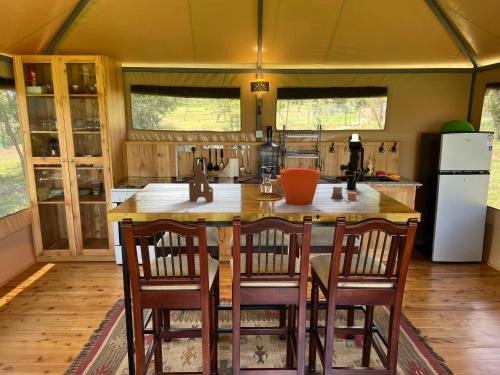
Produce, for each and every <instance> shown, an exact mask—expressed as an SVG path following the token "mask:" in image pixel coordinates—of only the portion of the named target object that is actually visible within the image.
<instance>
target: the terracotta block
mask: <svg viewBox="0 0 500 375" xmlns="http://www.w3.org/2000/svg"><path fill="white" fill-rule="evenodd" d="M347 199H348V200H347V201H356V200H357V192H356V191H349V192H347Z"/></svg>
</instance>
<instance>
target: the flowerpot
mask: <svg viewBox="0 0 500 375" xmlns="http://www.w3.org/2000/svg"><path fill="white" fill-rule="evenodd" d="M321 172H322V171H321V170H317V169H313V168H300V167H299V168H283V169H280V170H279V174H280V175H281V180H282V185H283V190H284V194H283V195H284V199H285V203H286V204H287V205H291V206H302V207H303V206H304V207H305V206H310V205H312V204H313V201H314V197H315V194H316V190H317V187H318V183H319V180H320V176H321V174H322V173H321Z"/></svg>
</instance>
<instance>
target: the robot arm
mask: <svg viewBox="0 0 500 375" xmlns="http://www.w3.org/2000/svg"><path fill="white" fill-rule="evenodd" d="M350 134H351V135H350V136H348V140H347V142H348V144H347V145H348V150H347V151H348V152H349V161H348V162H347V164H344V163H343V164H340V166H339V170H340V171H341V172H344V175H345V177H346V178H345V180H346V182H347V184H346V187H345V190H349V189H350V190H349V191H355V189H356V190H358V188H357V182H358V183H359V181H360V175H361V174H362V168H361V167H359V165H360V153H362V151H363V144H362V137H361V136H360V134H359V133H350Z"/></svg>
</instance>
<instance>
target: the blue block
mask: <svg viewBox="0 0 500 375" xmlns="http://www.w3.org/2000/svg"><path fill="white" fill-rule="evenodd" d="M342 192H343V186H342V185H334V186H333V187H332V194H341V193H342ZM342 194H343V193H342Z"/></svg>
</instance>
